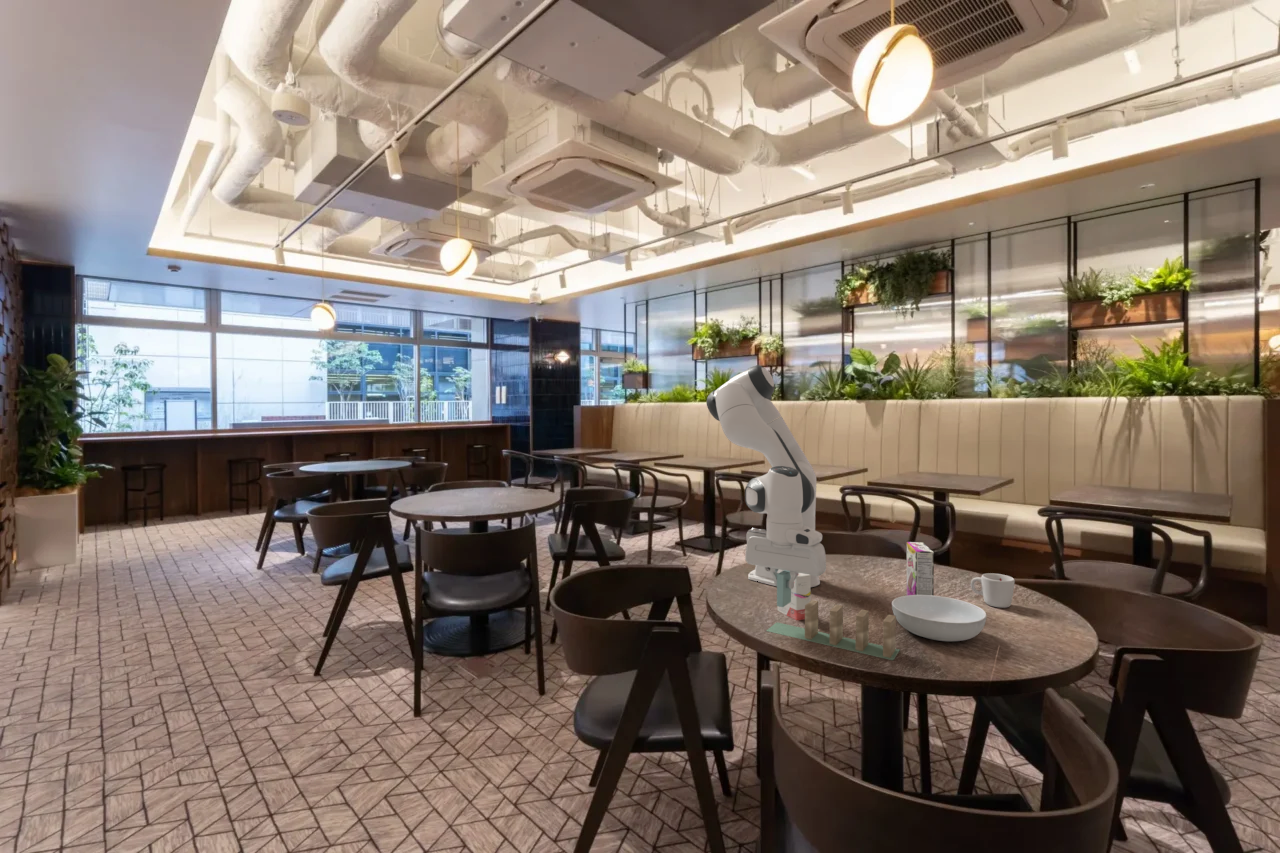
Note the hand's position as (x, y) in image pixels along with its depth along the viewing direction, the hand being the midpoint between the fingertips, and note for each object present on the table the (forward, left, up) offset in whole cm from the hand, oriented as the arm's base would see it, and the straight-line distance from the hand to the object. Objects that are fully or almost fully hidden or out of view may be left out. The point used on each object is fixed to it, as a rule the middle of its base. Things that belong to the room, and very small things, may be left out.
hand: (784, 586), depth 149 cm
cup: (+41, +52, -11) cm, 67 cm away
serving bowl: (+32, +19, -11) cm, 39 cm away
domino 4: (+19, 0, -11) cm, 22 cm away
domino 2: (+7, 0, -11) cm, 13 cm away
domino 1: (0, 0, -4) cm, 4 cm away
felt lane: (+11, 0, -11) cm, 16 cm away
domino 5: (+25, 0, -11) cm, 27 cm away
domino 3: (+13, 0, -11) cm, 17 cm away
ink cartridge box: (-2, +12, -11) cm, 17 cm away
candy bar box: (+24, +41, -11) cm, 49 cm away
